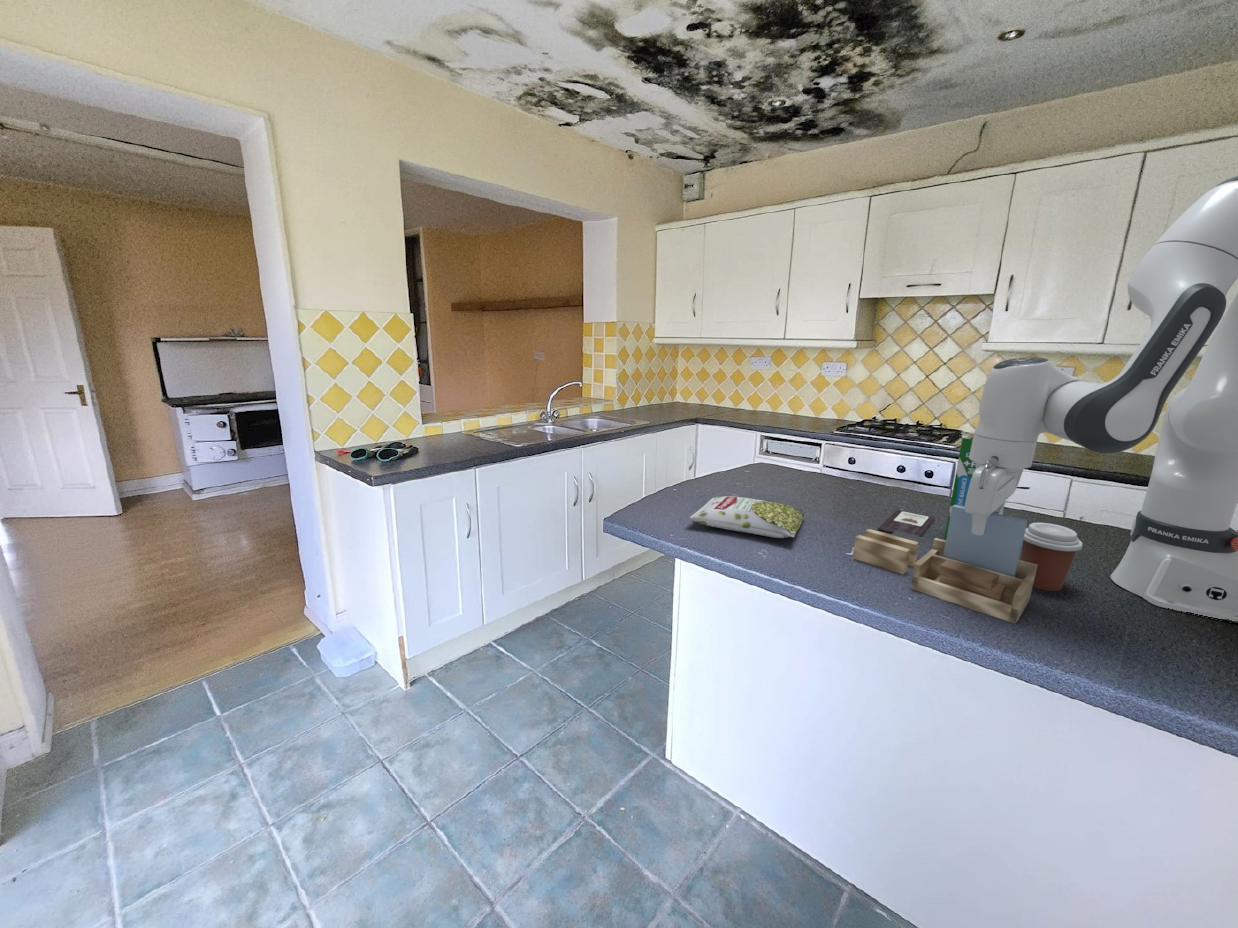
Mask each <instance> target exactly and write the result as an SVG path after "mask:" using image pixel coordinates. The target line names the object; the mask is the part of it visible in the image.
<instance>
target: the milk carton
mask: <svg viewBox="0 0 1238 928" xmlns="http://www.w3.org/2000/svg"><path fill="white" fill-rule="evenodd" d="M972 441H973V438H966V437H962V439H961V443H960V449H959V454H958V458H957V459H958V460H957V466H956V471H955V477H954V481H953V487H952V488H953V489H952V494H951V500H950V504H949V510H948V515H947V516H948V517H947V520H946V521H947V522H946V525H945V526H946V527H945V533H944V539H943V540H946V538H947V533H948V527H949V522H950V516H951V511H952V506H954V505H959V506H964V507H965V502H966V498H967V493H968V490H969V486H970V482H971V478H972V475H973V473H974V471H975V470H976V463H977V462H974V461H972V460H970V459H969V455H970V450H971V446H972ZM1005 504H1006V501H1005V502H1004V504H1003V507H1002V509H1001V511H1000V514H1001V515H1004V509H1005Z"/></svg>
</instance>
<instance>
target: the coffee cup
mask: <svg viewBox="0 0 1238 928" xmlns="http://www.w3.org/2000/svg"><path fill="white" fill-rule="evenodd" d="M1083 544H1084V543H1083V542H1082V541H1081V540H1080V538H1078V532H1076V531H1074V529H1071V528H1069V527H1066V526H1062V525H1059V524H1055V523H1047V522H1032V523H1029V525H1028V527H1026V530H1025V535H1024V539H1023V544H1022V548H1021V556H1020V557H1021V559H1020V560H1022V561H1026V562H1029V563H1033V564H1037V565H1038V566H1037V570H1036V575H1035V579H1034V583H1033V587H1032V588H1033V589H1034V588H1035V589H1038V590H1041V591H1042V590H1043V591H1049V592H1060V591H1062V590H1063V587H1064V585H1065V582H1066V580H1067V576H1068V574H1069V572H1070V569H1071V565H1072V563H1073V561H1074V558H1075V555H1076V553H1077V552H1079V551H1082V550H1083V546H1084V545H1083Z"/></svg>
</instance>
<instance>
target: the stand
mask: <svg viewBox="0 0 1238 928" xmlns="http://www.w3.org/2000/svg"><path fill="white" fill-rule="evenodd" d="M854 537H855V538H854V543H853V545H854V546H853V552H852V559H851V561H852V562H853V561H854V560H857V561H860V562H863V563H865V564H870V565H872V566H876V567H878V568H881V569H885V570H887V571H891V572H895V573H897V574H900V575H904V574H905V573H907V572H908V566H909V567H913V568H914V564H915V563H916V562H917V558H918V550H919V546H920V542H918V541H915V540H912V539H908V538H904V537H900V536H896V535H893V534H889V533H884V532H880V531H877V530H874V529H871V528H868V529H866V530H865V531H864V535H861V534H858V535H856V536H854Z"/></svg>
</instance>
